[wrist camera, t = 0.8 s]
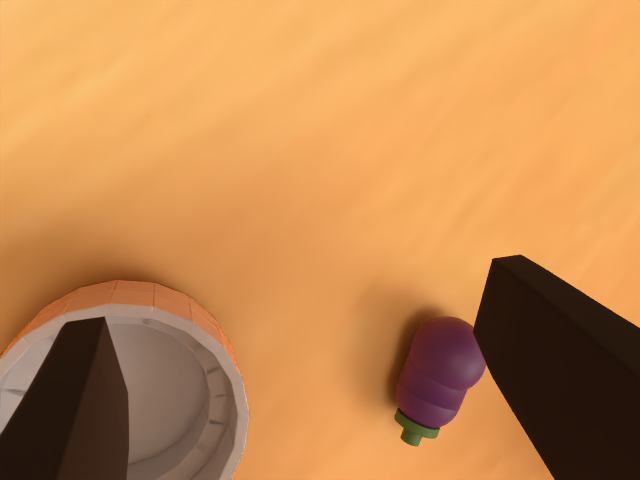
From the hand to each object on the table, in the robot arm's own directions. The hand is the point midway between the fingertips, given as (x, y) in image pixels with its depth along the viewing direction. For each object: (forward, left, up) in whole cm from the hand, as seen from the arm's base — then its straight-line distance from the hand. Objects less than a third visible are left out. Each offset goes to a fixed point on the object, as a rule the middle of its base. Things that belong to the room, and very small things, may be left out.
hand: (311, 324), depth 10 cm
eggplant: (-15, -7, -21) cm, 27 cm away
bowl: (-6, +9, -21) cm, 24 cm away
